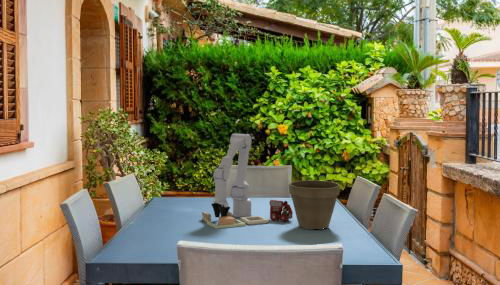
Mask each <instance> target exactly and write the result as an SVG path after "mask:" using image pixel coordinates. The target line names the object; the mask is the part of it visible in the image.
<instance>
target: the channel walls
mask: <svg viewBox="0 0 500 285" xmlns="http://www.w3.org/2000/svg"><path fill="white" fill-rule="evenodd" d="M232 213H233V212H230V211H228V213H227V216H231V217H233V216H232ZM201 221H204V222H205V223H207V222H208V221H209V222H211V223H212V215H211V214H210V213H208V212H206V211H201Z"/></svg>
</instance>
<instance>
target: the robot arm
mask: <svg viewBox="0 0 500 285" xmlns="http://www.w3.org/2000/svg"><path fill="white" fill-rule="evenodd" d="M229 138H230V139H229V142H230V145H229V148H228V150H227V153H226V155H225V156H223V157H222V159H221V161H220V163H219V165H218V167H217V168H216V169H214V171H213V174H212V177H213V181H214V182H213V183H214V184H215V187H214V198H213V199H212V203H210V205H211V207H212V209H213V213H214V217H215V218H219V217H225V216H227V213H228V212H230V209H231V206H229V202H228V200H227V182H228V179H229V178H230V170H231V167H232V166H233V164H234V160H233V159H234V157H235V156H236V154H237V152H238V157H237V158H238V159H237V161H238V162H237V168H236V178H235V181H233V182H232V183H231V185H230V186H231V187H230V189H229V196H230V197H231V199H232V212H231V213H232V217H233V218H240V217H252V202H251V199H250V196H251V187H250V184H249V183H248V182H247V171H248V164H249V162H248V161H249V155H250V152H249V151H250V150H251V149H252V148H251V147H252V137H251V135H250V134H249V133H246V134H245V133H235V132H234V133H232V134H231V136H230V137H229Z"/></svg>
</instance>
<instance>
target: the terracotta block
mask: <svg viewBox="0 0 500 285" xmlns="http://www.w3.org/2000/svg"><path fill="white" fill-rule="evenodd" d="M235 219H236V217H234V216H232V217H231V216H225V217H221V216H220V217H218V225H229V224H236V222H235Z"/></svg>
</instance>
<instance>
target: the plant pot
mask: <svg viewBox="0 0 500 285" xmlns="http://www.w3.org/2000/svg"><path fill="white" fill-rule="evenodd" d="M288 189H289V191H288V192H289V194H290V196H291V199H292V204H293V207H294V208H293V209H294V212H295V216H296V219H297V223H298V227H299V226H300V227H299V228H301V227H302V228H301V229H303V228H306V229H305V230H308V229H323V228H327V227H328V228H329V226H330V223H331V220H332V216H333V213H334V211H335V210H334V209H335V206H336V202H337V200H338V196H340V192H341V191H340V190H341V185H340V184H339V183H337V182H334V181H328V180H320V179H319V180H316V179H314V180H311V179H310V180H308V179H307V180H304V179H303V180H296V181H292V182H289V183H288ZM328 228H327V229H328Z"/></svg>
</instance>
